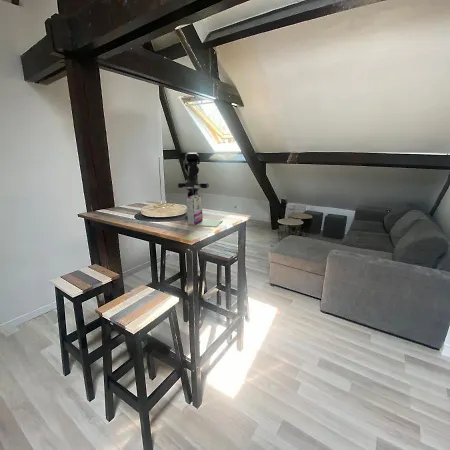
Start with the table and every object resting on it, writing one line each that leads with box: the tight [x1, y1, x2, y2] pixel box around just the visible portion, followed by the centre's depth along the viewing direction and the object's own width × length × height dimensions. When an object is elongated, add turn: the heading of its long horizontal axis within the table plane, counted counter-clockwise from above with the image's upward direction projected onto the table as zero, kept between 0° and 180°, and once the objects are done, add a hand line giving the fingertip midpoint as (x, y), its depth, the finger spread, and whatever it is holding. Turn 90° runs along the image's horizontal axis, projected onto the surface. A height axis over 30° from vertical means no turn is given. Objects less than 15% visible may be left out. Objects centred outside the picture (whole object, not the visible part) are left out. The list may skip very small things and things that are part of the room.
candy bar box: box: [185, 194, 204, 226], centre depth 146 cm, size 11×5×16 cm, turn 160°
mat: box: [196, 218, 223, 228], centre depth 146 cm, size 12×13×1 cm
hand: (194, 198), depth 153 cm, fingers closed
